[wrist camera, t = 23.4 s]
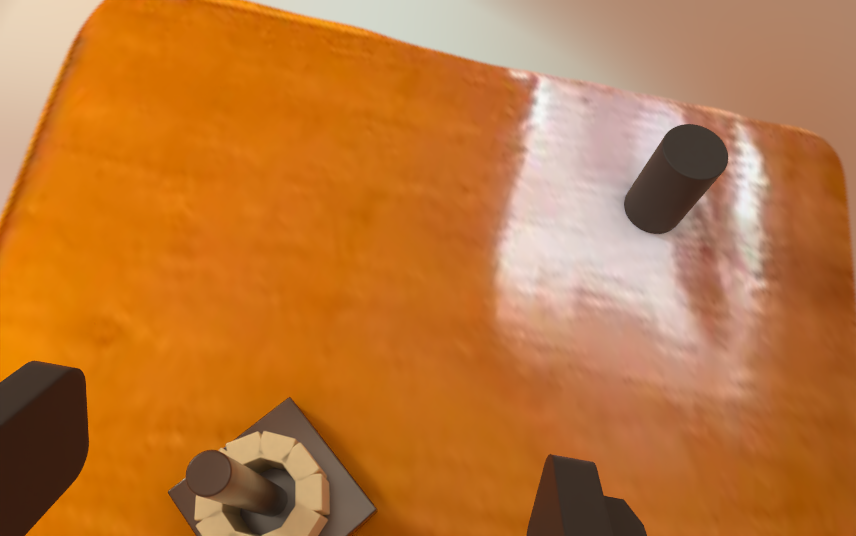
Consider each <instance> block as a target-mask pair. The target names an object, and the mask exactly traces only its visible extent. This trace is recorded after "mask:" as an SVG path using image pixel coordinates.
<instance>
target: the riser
mask: <svg viewBox="0 0 856 536" xmlns="http://www.w3.org/2000/svg"><path fill="white" fill-rule="evenodd" d="M727 163H728V153H727V149H726V147H725V145H724V143H723V142H722V140H721V139H720V138H719V137H718V136H717V135H716V134H715V133H713V132H712V131H710V130H709V129H707V128H704V127H702V126H698V125H693V124H685V125H680V126H677V127H675V128H673V129H671V130H670V131H669V132H668V133H667V134H666V135H665V136H664V138H663V140H662V141H661V143H660V144H659V146H658V147H657V149H656V150H655V152H654V153H653V155H652V156H651V158H650V159H649V161H648V163H647V164H646V166H645V167H644V169H643V170H642V172H641V173H640V175H639V176H638V178H637V179H636V181H635V182H634V184H633V186H632V187H631V189H630V190H629V192H628V193H627V195H626V197H625V202H624V206H625V211H626V214H627V216H628V218H629V219H630V220H631V222H632V223H633V224H634V225H636V226H637V227H638V228H640V229H642V230H644V231H646V232H650V233H664V232H668V231H670V230H672V229H673V228H675V227H676V225H677V224H678V223H679V222H680V221H681V220H682V219H683V217H684V216H685V215H686V214H687V213H688V212H689V211H690V209H691V208H692V207H693V206H694V205H695V204H696V202H697V201H698V200H699V199H700V198H701V197H702V196H703V194H704V193H705V192H706V191H707V190H708V189H709V187H710V186H711V185H712V184H713V183H714V182H715V181H716V179H717V178H718V177H719V176H720V175H721V174H722V172H723V171H724V170H725V168H726V166H727Z"/></svg>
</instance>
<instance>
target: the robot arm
mask: <svg viewBox="0 0 856 536" xmlns="http://www.w3.org/2000/svg"><path fill="white" fill-rule="evenodd" d="M88 447H89V437H88V418H87V398H86V381H85V376H84V374H83V372H82V371H81V370H80V369H78V368H73V367H67V366H62V365H56V364H50V363H45V362H39V361H31V362H28V363H27V364H25V365H24V366H22V367H21V368H20V369H18V370H17V371H15V372H14V373H13V374H11V375H10V376H9V377H7V378H6V379H4V380H3V381H2V382H0V536H25V535H26V534H27V532H28V531H29V530H30V529H31V528H32V527H33V526H34V525H35V524H36V523H37V521H38V520H39V519H40V518H41V517H42V516H43V515H44V514H45V513H46V512H47V511H48V509H49V508H50V507H51V506H52V505H53V504H54V503H55V502H56V501H57V500H58V498H59V497H60V496H61V495H62V494H63V493H64V492H65V491H66V490H67V489H68V488H69V486H70V485H71V484H72V483H73V482H74V481H75V480H76V478H77V477H78V475H79V474H80V472H81V470H82V468H83V466H84V463H85V460H86V457H87V453H88ZM527 536H647V534H646V531H645V528H644V525H643V524H642V522H641V521H640V520H639V519H638V517H637V516H636V515H635V513H634V512H633V511H632V510H631V508H630V507H629V506H628V505H627V503H626V502H625V501H624V499H618V498H613V497H607V496H604V495H603V491H602V487H601V483H600V479H599V475H598V471H597V468H596V465H595V463H594V462H590V461H584V460H579V459H573V458H567V457H562V456H556V455H551V454H550V455H548V457H547V459H546V462H545V465H544V468H543V472H542V476H541V480H540V483H539V487H538V491H537V495H536V499H535V502H534V506H533V510H532V514H531V517H530V521H529V525H528V530H527Z"/></svg>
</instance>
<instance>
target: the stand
mask: <svg viewBox="0 0 856 536" xmlns="http://www.w3.org/2000/svg"><path fill="white" fill-rule="evenodd" d="M257 431H258V432H260V433H261V434H263V432H264V431H267V432H271V433H275V434H279V435H283V436H287V437H291V438H295V439H296V440H297V441H298V443H302V444H303V446H304V447H305V448H306V449H307V450H308V452H309V453H310V454H311V455H312V457H313V458H314V459H315V461H316V462H317V463H318V465H319V466H320V467H321V469H322V470H323V471H324V473H325V474H326V475H327V478H326V479H327V480H328V482H329V491H330V514H329V515H323V516H324V517H326V518H327V519H328V521H327V523H326V524H325V526H324V527H323V529H322V531H321V532H320V534H319V535H318V536H350V535H351V534H353V533H354V532H355V531H356V530H357V529H358V528H359V527H360V526H362V525H363V524H364V523H365V522H366V521H367V520H368V519H369V518H371V517H372V516H373V515H374V514H375V513H376V512H377V509H376V507H375V506H374V504H373V503H372V502H371V501H370V499H369V498H368V497H367V495H366V494H365V493H364V492H363V490H362V489H361V488H360V486H359V485H358V484H357V483H356V481H355V480H354V479H353V477H352V476H351V475H350V474H349V472H348V471H347V470H346V468H345V467H344V466H343V464H342V463H341V462H340V461H339V459H338V458H337V457H336V455H335V454H334V453H333V452H332V450H331V449H330V448H329V446H328V445H327V444H326V443H325V441H324V440H323V439H322V437H321V436H320V435H319V433H318V432H317V431H316V430H315V428H314V427H313V426H312V424H311V423H310V422H309V421H308V419H307V418H306V417H305V415H304V414H303V413H302V412H301V410H300V409H299V408H298V406H297V405H296V404H295V403H294V401H293V400H292V399H291V398H290V397H289V398H287V399H286V400H285V401H283V402H282V403H281V404H280V405H278V406H277V407H276V408H274V409H273V410H272V411H271V412H269V413H268V414H267V415H265V416H264V417H263V418H262V419H260V420H259V421H258V422H256V423H255V424H254V425H253V426H251V427H250V428H249V429H247V430H246V431H245V432H244V433H242V434H241V435H240V436H238V437H237V438H236V439H235V440H237V439H239V438H242V437H244V436H247V435H250V434H252V433H255V432H257ZM233 441H234V440H233ZM223 449H225V450H226V451H227V448H226V447H224V448H223ZM168 494H169V495H170V497H171V498H172V500H173V501H174V503H175V504H176V506H177V507H178V509H179V510H180V512H181V513H182V515H183V516H184V518H185V519H186V521H187V522H188V524H189V525H190V527H191V528H192V530H193V531H194V533H195V534H196V536H202V535H201V533H200V532H199V530H198V529H197V527H196V525H197V524H198V523H199V522H200V521H196V520H195V519H194V517H195V502H196V495H197V496H200V497H203V498H206V499H210V500H213V501H217V502H220V503H224V504H227V505H231V506H234V507H238V508H241V511H240V516H241V517H242V519H243V520H244V522H245V523H246V525H247V526H248V528H249V529H250V530H251V532H252V533H254V534H257V535H264V534H266V533H268V532H271V531H273V530H276V529H278V528H280V527H282V525H283V524H284V522H285V521H286V519H287V517H288V516H289V514H290V513H291V511H292V510H293V508H294V507H295V481H294V479H293V478H292V477H291V475H290V474H289V473H288V471H285V470H281V469H277V468H272V469H269V470H267V471H264V472H262V473H259V474H258V473H256V472H254V471H253V470H251V469H249V468H248V467H246V466H244V465H243V464H241V463H239V462H237V461H236V460H234V459H232V458H231V457H229V456H227V455H225V454H224V453H222V452H220V451H217V450H207V451H204V452H201V453H199V454H198V455H197V456H195V457H194V458H193V459H192V461H191V462H190V463H189V465H188V468H187V471H186V478H184V479H183V480H182V481H181V482H179V483H178V484H177V485H175V486H174V487H173V488H172V489H170V490H169V491H168Z"/></svg>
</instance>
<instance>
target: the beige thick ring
mask: <svg viewBox="0 0 856 536" xmlns="http://www.w3.org/2000/svg"><path fill="white" fill-rule="evenodd" d="M226 448H227V451H226V450H225V449H223V448H220V449H219V451H220V452H222V453H224V454H225V455H227V456H229V457H231V458H232V459H234V460H236V461H237V462H239V463H241V464H243V465H244V466H246V467H248V468H249V469H251V470H253V471H254V472H256V473H258V474H259V473H262V472H264V471H267V470H269V469H272V468H277V469H281V470H285V471H288V473H289V474H290V475H291V477H292V478H293V479H294V481H295V507H294V508H293V510H292V511H291V513H290V514H289V516H288V517H287V519H286V521H285V522H284V524H283V525H282V527H280V528H278V529H276V530H273V531H271V532H268V533H266V534H264V535H257V534H254V533H252V532H251V530H250V529H249V528H248V526H247V525H246V523H245V522H244V520H243V519H242V517H241V516H240V511H241V508H238V507H234V506H231V505H227V504H224V503H220V502H217V501H213V500H210V499H206V498H203V497H200V496H197V495H196V502H195V517H194V519H195V520H196V521H200V522H199V523H198V524H197V525H196V527H197V529H198V530H199V532H200V533H201V535H202V536H318V535H319V534H320V532H321V531H322V529H323V527H324V526H325V524H326V523H327V521H328V519H327V518H326V517H324V516H323V515H329V514H330V491H329V482H328V480H327V479H326V478H327V475H326V474H325V473H324V471H323V470H322V469H321V467H320V466H319V465H318V463H317V462H316V461H315V459H314V458H313V457H312V455H311V454H310V453H309V452H308V450H307V449H306V448H305V447H304V446H303V444H302V443H298V441H297V440H296V439H295V438H291V437H287V436H283V435H279V434H275V433H271V432H267V431H264V432H263V434H261V433H260V432H258V431H257V432H255V433H252V434H250V435H247V436H244V437H242V438H239V439H237V440H234V441H232V442H229V443H227V444H226Z"/></svg>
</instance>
